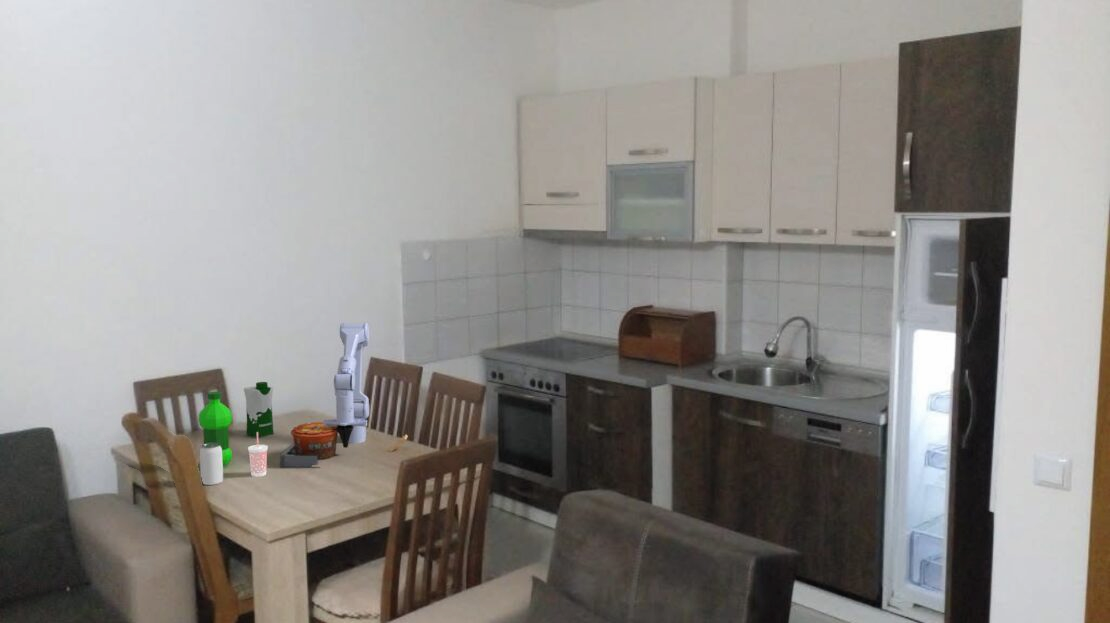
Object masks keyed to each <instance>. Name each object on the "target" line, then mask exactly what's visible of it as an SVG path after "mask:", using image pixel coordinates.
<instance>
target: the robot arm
mask: <svg viewBox="0 0 1110 623" xmlns="http://www.w3.org/2000/svg"><path fill="white" fill-rule="evenodd" d="M339 338H340V339H341V343H342V345H343V346H344V347H343V356H341V357H340V358H339V360H338V361H339V362H338V367H337V371H336V374H334V375H333V376H334V377H333V388H334V396H335V398H336V399H335V402H336V403H335V406H336V407H335V408H336V411H335V412H336V418H335V419H324V420H323V421H322V422H323V427H327V426H337V432H338V435H339V437H340V440H341V442H342V446H343V448H345V449H346V448H348V447H349V444H361V443H364V442H366V438H367V426H368V419H367V418H369V416H370V403H369V402H370V401H369V400H370V399H369V397H368V396H367V395H366V394H364V393H363V392H362V382H363V381H362V380H363V379H362V377H363V374H362V373H363V352H364V348H365V347H367V346H369V342H370V326H369V324H368V322H341V323H340V325H339Z"/></svg>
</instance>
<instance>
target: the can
mask: <svg viewBox="0 0 1110 623" xmlns="http://www.w3.org/2000/svg"><path fill="white" fill-rule="evenodd" d="M200 447H201V448H200V449H199V461H200V463H199V465H200V478H201V477H202V481H203V484H204V485H203V484H202V485H203V486H216V485H219V484H221V483H222V482H223V481H224V468H223V460H222V448H221V446H220V443H206V444H204V443H203V444H201V445H200Z"/></svg>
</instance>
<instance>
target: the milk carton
mask: <svg viewBox="0 0 1110 623" xmlns="http://www.w3.org/2000/svg"><path fill="white" fill-rule="evenodd" d="M273 391H274V387H272V386H269V385H268V381H259V382H258V381H257V382H256V383H255V385H254V386H249V387H244V388H243V392H244V397H245V405H246V407H245V408H246V409H245V410H246V430H245V431H246V434H248V435H247V436H250V435H251V436H250V437H253V436H255V437H254V438H257V432H258V437H259V438H261V436H263V437H266V435H267V436H271V435H274V423H273V422H274V421H273ZM246 434H245V435H246ZM270 434H271V435H270Z"/></svg>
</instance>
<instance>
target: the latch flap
mask: <svg viewBox="0 0 1110 623" xmlns="http://www.w3.org/2000/svg"><path fill="white" fill-rule="evenodd" d="M408 438H409V437H408V435H407V434H405V435H403V436H402V437H401V438H399V440H397V441H396V442H395V443H394V444H392V445H391V446H389V449H388V450H387V452H393V451H395V449H397V448H398V447H399V446H401V445H402V444H403V443H404V442H406V440H407V439H408Z"/></svg>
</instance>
